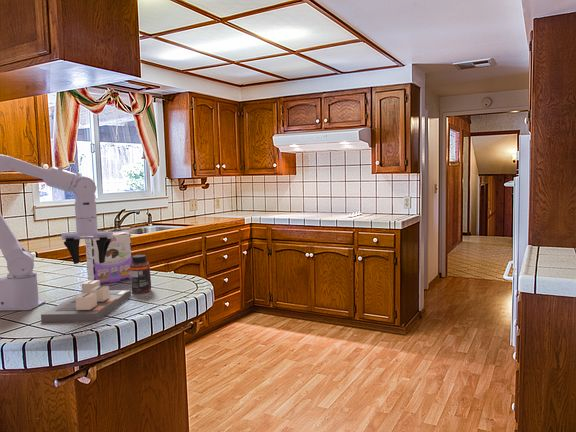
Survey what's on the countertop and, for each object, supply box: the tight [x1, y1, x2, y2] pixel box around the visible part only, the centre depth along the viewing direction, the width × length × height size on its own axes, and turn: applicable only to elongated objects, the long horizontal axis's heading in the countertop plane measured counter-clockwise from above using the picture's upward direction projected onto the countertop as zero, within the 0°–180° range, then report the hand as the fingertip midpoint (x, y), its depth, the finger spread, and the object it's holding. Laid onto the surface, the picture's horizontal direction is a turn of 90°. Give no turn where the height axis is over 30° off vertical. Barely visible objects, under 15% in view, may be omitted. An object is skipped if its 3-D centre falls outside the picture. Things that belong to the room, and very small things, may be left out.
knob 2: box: [90, 285, 110, 302], centre depth 125 cm, size 4×4×3 cm
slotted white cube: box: [76, 293, 97, 310], centre depth 118 cm, size 4×4×3 cm
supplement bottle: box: [130, 254, 152, 294], centre depth 142 cm, size 6×6×11 cm
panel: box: [40, 289, 132, 323], centre depth 125 cm, size 14×23×2 cm, turn 178°
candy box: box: [84, 231, 133, 286], centre depth 157 cm, size 14×6×16 cm, turn 134°
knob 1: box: [81, 279, 101, 294], centre depth 133 cm, size 4×4×3 cm
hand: (89, 263), depth 136 cm, fingers open, 7 cm apart
